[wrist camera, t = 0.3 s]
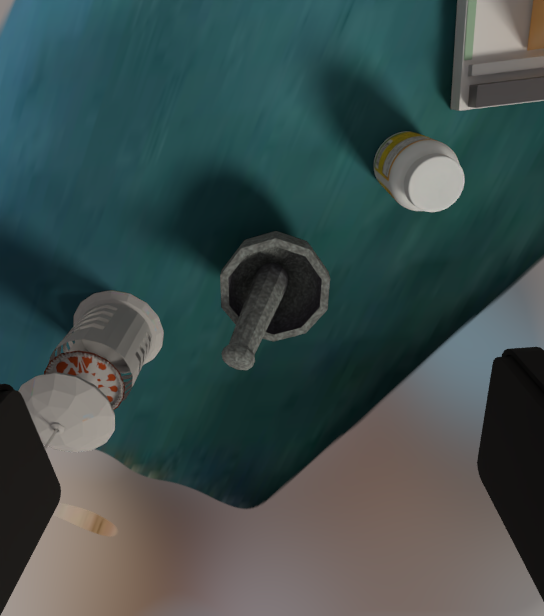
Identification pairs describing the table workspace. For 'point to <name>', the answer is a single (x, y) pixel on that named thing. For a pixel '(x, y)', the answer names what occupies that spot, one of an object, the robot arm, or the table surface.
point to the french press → (92, 371)
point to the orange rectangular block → (536, 26)
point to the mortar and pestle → (271, 293)
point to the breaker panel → (495, 55)
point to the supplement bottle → (419, 172)
